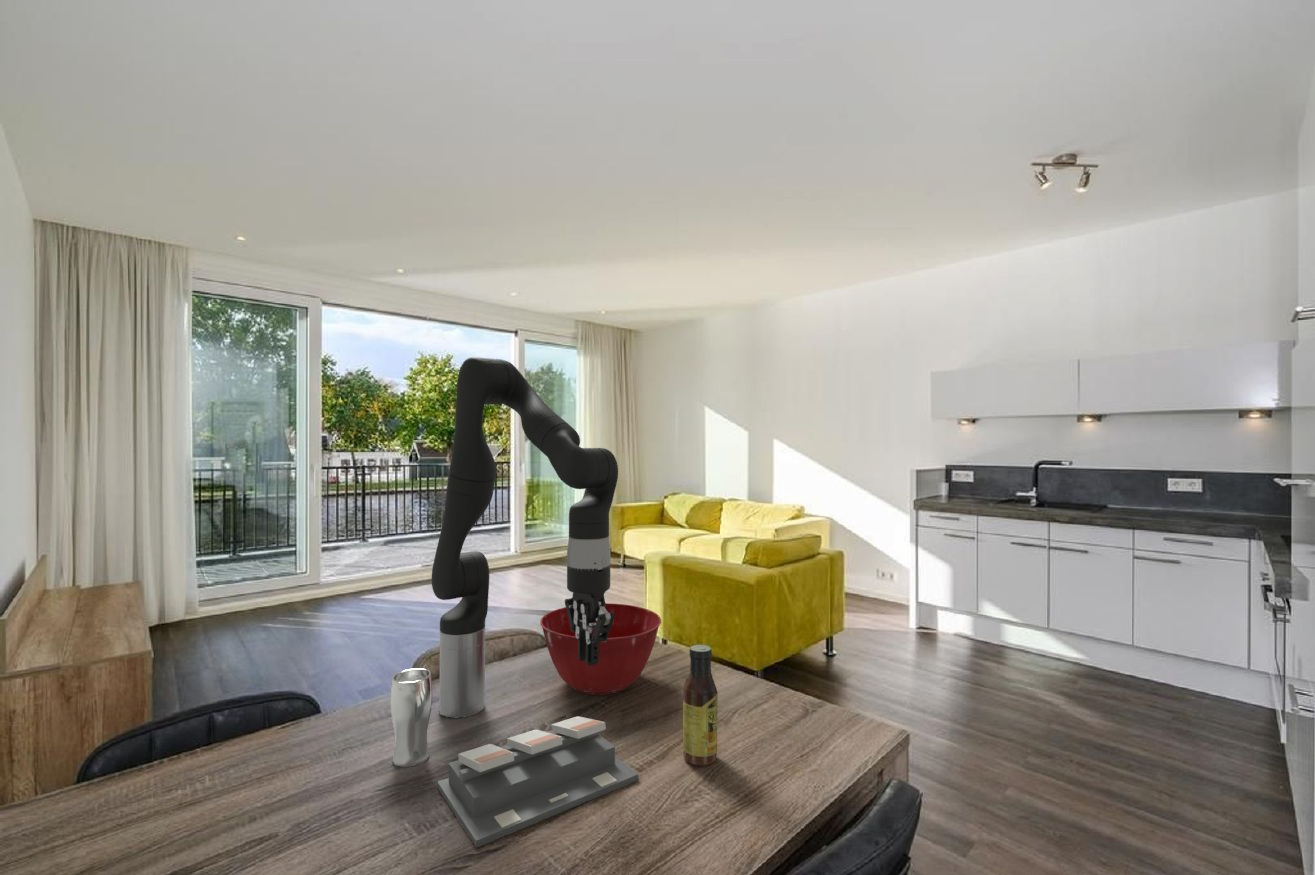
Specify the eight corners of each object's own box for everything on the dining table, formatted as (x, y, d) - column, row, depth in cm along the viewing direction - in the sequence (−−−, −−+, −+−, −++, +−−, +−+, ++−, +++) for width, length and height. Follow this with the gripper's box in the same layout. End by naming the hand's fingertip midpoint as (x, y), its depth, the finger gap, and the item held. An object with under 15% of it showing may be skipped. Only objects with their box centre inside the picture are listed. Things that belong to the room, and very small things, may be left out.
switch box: (437, 787, 98) (437, 756, 98) (584, 737, 115) (584, 710, 115) (476, 848, 84) (476, 811, 84) (638, 780, 101) (638, 749, 101)
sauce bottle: (715, 770, 104) (715, 656, 104) (680, 766, 105) (680, 653, 105) (719, 750, 110) (719, 643, 110) (685, 747, 112) (686, 641, 112)
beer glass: (440, 753, 109) (440, 671, 109) (409, 772, 103) (410, 685, 103) (412, 745, 112) (412, 665, 112) (381, 763, 105) (381, 678, 106)
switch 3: (551, 731, 108) (551, 724, 108) (578, 723, 112) (577, 715, 112) (578, 738, 101) (577, 730, 101) (605, 729, 104) (604, 721, 104)
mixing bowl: (611, 652, 161) (611, 595, 161) (685, 685, 140) (686, 619, 140) (517, 681, 142) (517, 616, 142) (587, 723, 121) (588, 647, 121)
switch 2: (507, 746, 103) (506, 737, 103) (536, 736, 106) (536, 728, 107) (531, 754, 95) (530, 746, 96) (562, 744, 99) (561, 736, 99)
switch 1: (458, 761, 98) (458, 753, 98) (490, 751, 101) (490, 743, 102) (480, 772, 90) (479, 763, 91) (514, 760, 94) (513, 751, 94)
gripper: (551, 558, 107) (550, 654, 107) (590, 572, 96) (589, 680, 96) (587, 553, 111) (586, 646, 111) (629, 566, 100) (628, 669, 100)
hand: (588, 661), depth 103 cm, fingers closed
